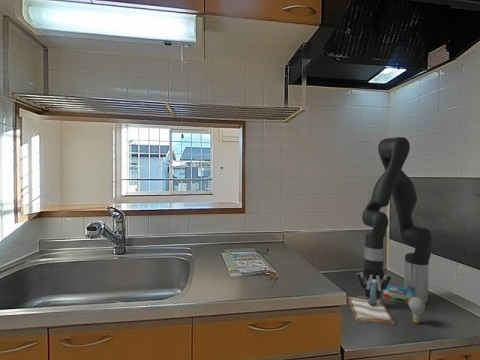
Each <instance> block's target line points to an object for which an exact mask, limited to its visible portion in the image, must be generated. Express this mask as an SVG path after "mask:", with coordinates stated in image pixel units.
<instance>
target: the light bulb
mask: <svg viewBox="0 0 480 360" xmlns="http://www.w3.org/2000/svg"><path fill="white" fill-rule="evenodd" d="M408 307H409V309H410V311H411V312H412V318H413V319H412V321H413V323H414V324H420V318H421V315H422V313H423V312H424V311H425V308H426V303H424V301H423V300H422V299H420V298H418V297H412V298H410V300H409V303H408Z"/></svg>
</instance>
